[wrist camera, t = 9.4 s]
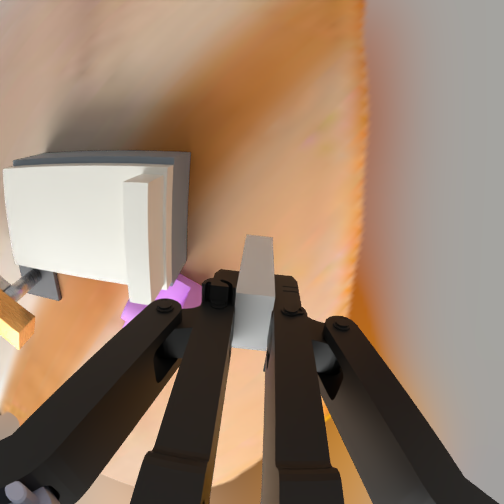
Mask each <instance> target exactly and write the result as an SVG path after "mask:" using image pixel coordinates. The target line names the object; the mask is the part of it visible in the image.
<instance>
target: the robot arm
mask: <svg viewBox="0 0 504 504" xmlns="http://www.w3.org/2000/svg"><path fill="white" fill-rule="evenodd" d="M231 347H234V348H243V349H252V350H262V351H266V349H267V353H266V359H265V364H264V370H263V372H265V400H264V434H263V464H262V491H261V503H260V504H344V498H343V490H342V483H341V477H340V473H339V471H338V469H337V468H334V467H332V466H331V463H330V457H329V449H328V441H327V434H326V427H325V420H324V413H323V406H322V400H321V396H322V398H323V400H324V402H325V404H326V406H327V408H328V410H329V413H330V415H331V417H332V419H333V421H334V423H335V425H336V427H337V429H338V431H339V433H340V436H341V437H342V440H343V442H344V444H345V446H346V448H347V450H348V452H349V454H350V457H351V459H352V461H353V463H354V465H355V467H356V469H357V471H358V473H359V475H360V478H361V479H362V482H363V484H364V486H365V488H366V490H367V492H368V494H369V496H370V499H371V501H372V503H373V504H499V503H497V502H496V501H495V500H493V499H492V498H491V497H489V496H488V495H486V494H485V493H484V492H483V491H482V490H480V489H479V488H478V487H476V486H475V485H474V484H472V483H471V482H470V481H469V480H467V479H466V478H465V477H464V476H463V474H462V473H461V471H460V470H459V468H458V467H457V465H456V463H455V462H454V461H453V459H452V457H451V456H450V454H449V453H448V451H447V450H446V449H445V447H444V445H443V444H442V443H441V441H440V440H439V438H438V437H437V435H436V434H435V432H434V431H433V429H432V428H431V427H430V425H429V424H428V422H427V421H426V419H425V418H424V416H423V415H422V414H421V412H420V411H419V409H418V408H417V406H416V405H415V404H414V402H413V401H412V399H411V398H410V397H409V395H408V394H407V392H406V391H405V390H404V388H403V387H402V385H401V384H400V383H399V381H398V380H397V379H396V377H395V376H394V374H393V373H392V372H391V370H390V369H389V368H388V366H387V365H386V363H385V362H384V361H383V359H382V358H381V357H380V355H379V354H378V353H377V351H376V350H375V349H374V347H373V346H372V345H371V344H370V342H369V341H368V339H367V338H366V337H365V335H364V334H363V333H362V331H361V330H360V329H359V328H358V326H357V325H356V324H355V323H354V322H353V321H352V320H350V319H348V318H346V317H343V316H332V317H329V318H328V319H326V322H325V323H322V322H318V321H315V320H312V319H311V318H309V317H307V312H306V310H305V309H304V308H303V307H301V301H300V296H299V290H298V284H297V281H296V280H295V279H294V278H293V277H292V276H284V275H275V274H274V256H273V237H265V236H256V235H246V240H245V245H244V251H243V256H242V261H241V267H240V271H231V270H223V269H220V270H219V271H218V272H216V273H215V275H214V278H210V279H207V280H205V281H204V282H203V283H202V302H201V305H200V306H198V307H195V308H187V309H182V307H181V304H180V303H179V302H178V301H176V300H173V299H168V298H162V299H158V300H155V301H153V302H151V303H150V304H149V305H148V306H147V307H145V308H144V309H143V310H142V311H141V312H140V313H139V314H138V315H137V316H136V317H134V318H133V319H132V320H131V321H130V322H129V323H128V324H127V325H126V326H125V327H124V328H122V329H121V330H120V331H119V332H118V333H117V334H116V335H115V336H114V337H113V338H112V339H111V340H109V341H108V342H107V343H106V344H105V345H104V346H103V347H102V348H101V349H100V350H99V351H98V352H97V353H96V354H94V355H93V356H92V357H91V358H90V359H89V360H88V361H87V362H86V363H85V364H84V365H83V366H82V367H81V368H80V369H79V370H78V371H76V372H75V373H74V374H73V375H72V376H71V377H70V378H69V379H68V380H67V381H66V382H65V383H64V384H63V385H62V386H61V387H60V388H59V389H58V390H57V391H56V392H55V393H54V394H53V395H52V396H51V397H49V398H48V399H47V400H46V401H45V402H44V403H43V404H42V405H41V406H40V407H39V408H38V409H37V410H36V411H35V412H34V413H33V414H32V415H31V416H30V417H29V418H28V419H27V420H26V421H25V422H24V423H23V424H22V425H21V426H20V427H19V428H18V429H17V430H16V432H14V433H13V434H12V435H11V436H9V437H7V438H5V439H2V440H1V441H0V504H75V503H76V502H77V501H78V500H79V499H80V498H81V497H82V496H83V495H84V494H85V492H86V491H87V490H88V489H89V488H90V486H91V485H92V484H93V482H94V481H95V480H96V478H97V477H98V476H99V474H100V473H101V472H102V470H103V469H104V468H105V466H106V465H107V464H108V462H109V461H110V460H111V458H112V457H113V456H114V454H115V453H116V452H117V450H118V449H119V447H120V446H121V445H122V443H123V442H124V441H125V439H126V438H127V437H128V435H129V434H130V433H131V431H132V430H133V429H134V427H135V426H136V425H137V423H138V422H139V420H140V419H141V418H142V416H143V415H144V414H145V412H146V411H147V410H148V408H149V407H150V406H151V404H152V403H153V401H154V400H155V399H156V397H157V396H158V395H159V393H160V392H161V391H162V389H163V388H164V386H165V385H166V384H167V382H168V381H169V380H170V378H171V377H172V376H173V374H174V373H175V371H176V370H177V369H178V367H179V366H180V367H179V370H178V373H177V376H176V379H175V382H174V385H173V388H172V392H171V395H170V398H169V401H168V404H167V407H166V410H165V414H164V417H163V420H162V423H161V426H160V430H159V433H158V436H157V439H156V443H155V446H154V448H153V450H152V451H148V452H147V454H146V455H145V457H144V460H143V462H142V465H141V468H140V472H139V475H138V478H137V482H136V485H135V488H134V492H133V495H132V498H131V502H130V504H209V503H210V493H211V486H212V479H213V472H214V465H215V458H216V451H217V444H218V438H219V431H220V424H221V417H222V410H223V404H224V397H225V390H226V383H227V377H228V370H229V363H230V357H231Z"/></svg>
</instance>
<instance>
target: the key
mask: <svg viewBox="0 0 504 504" xmlns="http://www.w3.org/2000/svg"><path fill="white" fill-rule="evenodd" d="M40 281H41V275H40V273H39V271H38V270H37V269H35V268H33V269H31V270H30V271H29V272H27V273H26V274H25V275H24V276H22V277H21V278H20V279H19V280H17V281H16V282H15V283H14V284H12V285H11V284H10V283H8V282H7V281H6V280H5V279H3V278H2V277H1V276H0V335H1V336H2V337H4V338H5V339H6V340H7V341H8V342H10V343H11V344H12V345H13V346H15V347H16V348H17V349H19V350H20V348H21V347H22V346H23V345H24V344H25V343H26V342H27V340H28V339H29V338H30V337H31V336H32V335H33V334H34V325H35V316H34V315H33V314H31V313H30V312H28V311H27V310H26V309H25V308H23V307H22V306H21V305H19V304H18V303H17V301H18V300H19V299H21V298H22V297H23V296H24V295H25V294H26V293H27V292H28V291H30V290H31V289H32V288H33V287H34V286H35V285H36V284H38V283H39V282H40Z"/></svg>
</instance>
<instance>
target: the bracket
mask: <svg viewBox="0 0 504 504" xmlns="http://www.w3.org/2000/svg"><path fill="white" fill-rule="evenodd" d="M162 298H168V299H173V300H176V301H178V302H179V303H180V304H181V307H182V309H187V308H195V307H198V306H200V305H201V302H202V286H201V285H199V284H197V283H196V282H194V281H192V280H190V279H189V278H187V277H185V276H184V275H182V274H180V273H179V275H178V277H177V279H176V281H175V282H174V284H173V286H169V288H168V289H167V290H161V291H160V292H159V294H158V296H157V297H156V299H155V300H158V299H162ZM147 306H148V305H144V304H138V303H132V302H130V300H128V302H127V304H126V306H125V308H124V310H123V312H122V315H121V319H123V320H124V321H125V324H124V326H123V328H124V327H125V326H126V325H127V324H128V323H129V322H130V321H131V320H132V319H133V318H134V317H136V316H137V315H138V314H139V313H140V312H141V311H142V310H143V309H144V308H145V307H147Z"/></svg>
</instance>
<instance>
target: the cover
mask: <svg viewBox="0 0 504 504" xmlns="http://www.w3.org/2000/svg"><path fill="white" fill-rule="evenodd" d="M173 166H174V165H166V164H139V163H64V164H39V165H22V166H11V167H8V168H4V169H3V182H4V194H5V205H6V213H7V221H8V228H9V235H10V241H11V246H12V252H13V257H14V262H15V264H16V265H21V266H26V267H31V268H36V269H41V270H46V271H51V272H56V273H62V274H67V275H73V276H78V277H84V278H90V279H96V280H102V281H108V282H114V283H121V284H127V285H128V291H129V300H130V302H132V303H138V304H144V305H149V304H150V303H151V302H153V301H155V299H156V297H157V296H158V294H159V292H160V291H161V290H167V289H168V288H169V286H170V284H171V282H172V189H173Z"/></svg>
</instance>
